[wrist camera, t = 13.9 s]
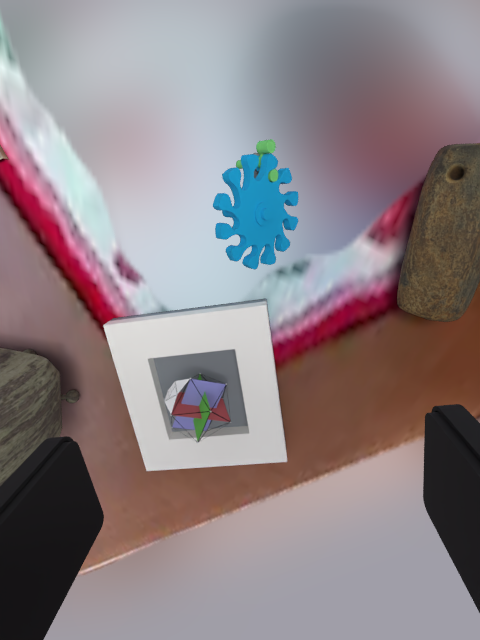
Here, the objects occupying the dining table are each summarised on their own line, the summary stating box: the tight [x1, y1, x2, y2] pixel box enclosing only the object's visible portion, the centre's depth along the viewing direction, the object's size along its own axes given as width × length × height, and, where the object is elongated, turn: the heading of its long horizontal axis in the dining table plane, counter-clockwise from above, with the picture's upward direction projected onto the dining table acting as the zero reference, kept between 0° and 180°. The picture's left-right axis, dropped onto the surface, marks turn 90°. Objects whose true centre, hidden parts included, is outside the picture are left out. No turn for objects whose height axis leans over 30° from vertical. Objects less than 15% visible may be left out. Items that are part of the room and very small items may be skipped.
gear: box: [213, 140, 298, 269], centre depth 31 cm, size 11×6×10 cm
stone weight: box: [397, 143, 480, 322], centre depth 30 cm, size 15×7×7 cm, turn 0°
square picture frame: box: [103, 299, 287, 471], centre depth 40 cm, size 18×20×2 cm
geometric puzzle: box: [164, 373, 232, 444], centre depth 37 cm, size 7×7×8 cm
